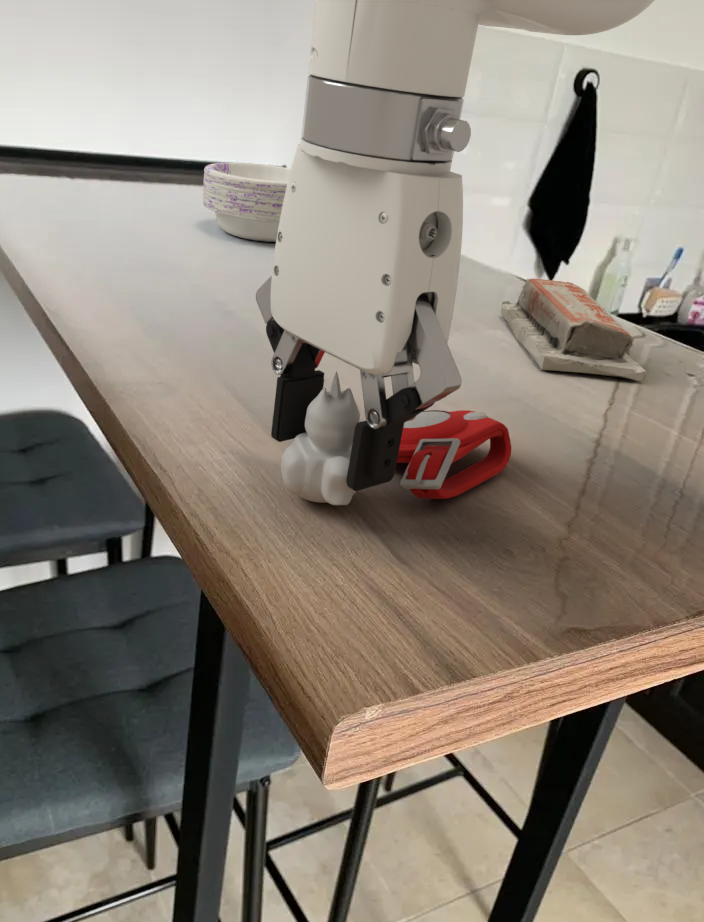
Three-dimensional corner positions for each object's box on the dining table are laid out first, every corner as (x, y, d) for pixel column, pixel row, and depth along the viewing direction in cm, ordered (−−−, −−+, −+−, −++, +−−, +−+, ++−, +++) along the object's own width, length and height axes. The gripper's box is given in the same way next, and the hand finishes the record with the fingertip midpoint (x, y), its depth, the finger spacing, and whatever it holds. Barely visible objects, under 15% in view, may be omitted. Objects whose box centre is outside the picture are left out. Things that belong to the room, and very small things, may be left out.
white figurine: (348, 474, 56) (368, 356, 52) (383, 528, 50) (407, 400, 46) (267, 476, 54) (280, 354, 50) (293, 531, 49) (311, 400, 45)
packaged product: (507, 270, 92) (596, 281, 93) (496, 314, 95) (583, 325, 96) (553, 320, 77) (659, 334, 78) (539, 372, 79) (643, 384, 80)
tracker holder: (341, 419, 60) (469, 386, 63) (351, 478, 62) (476, 444, 64) (409, 459, 49) (561, 418, 52) (419, 530, 51) (567, 487, 53)
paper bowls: (192, 216, 118) (195, 155, 114) (298, 225, 122) (305, 165, 119) (211, 244, 105) (216, 176, 101) (329, 252, 110) (338, 187, 106)
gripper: (570, 164, 39) (482, 510, 48) (323, 105, 50) (288, 396, 58) (461, 161, 34) (386, 544, 43) (215, 97, 45) (195, 414, 54)
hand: (330, 456), depth 51 cm, fingers closed on white figurine, 6 cm apart
